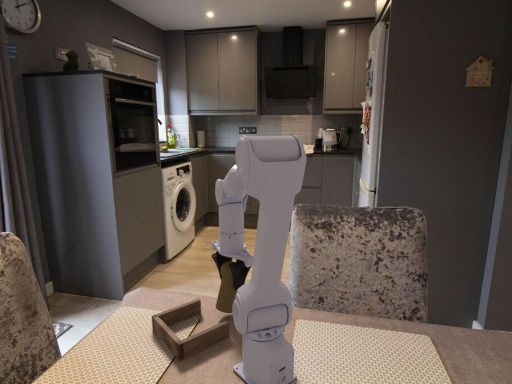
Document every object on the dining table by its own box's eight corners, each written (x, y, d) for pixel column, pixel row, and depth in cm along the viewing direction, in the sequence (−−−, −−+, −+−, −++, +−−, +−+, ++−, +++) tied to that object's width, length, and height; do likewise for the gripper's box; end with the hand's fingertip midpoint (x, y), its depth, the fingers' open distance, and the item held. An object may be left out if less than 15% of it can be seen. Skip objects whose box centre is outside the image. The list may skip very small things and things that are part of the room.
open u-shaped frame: (229, 336, 74) (229, 322, 73) (179, 360, 66) (178, 344, 65) (199, 311, 83) (198, 298, 83) (152, 329, 76) (151, 315, 75)
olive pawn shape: (242, 302, 84) (246, 260, 82) (238, 314, 78) (243, 269, 76) (218, 299, 84) (221, 257, 82) (213, 311, 78) (216, 266, 76)
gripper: (265, 235, 75) (264, 291, 77) (227, 220, 86) (228, 270, 88) (240, 241, 70) (240, 301, 73) (203, 225, 81) (205, 278, 84)
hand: (232, 285), depth 80 cm, fingers closed on olive pawn shape, 5 cm apart
